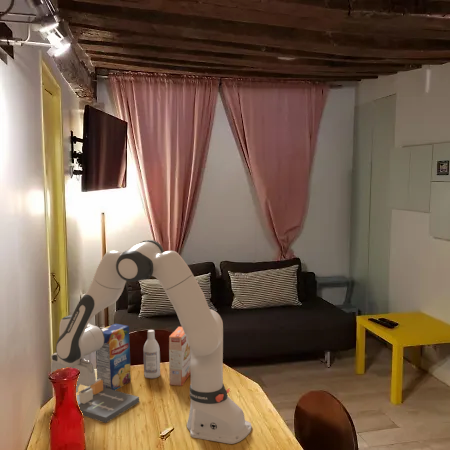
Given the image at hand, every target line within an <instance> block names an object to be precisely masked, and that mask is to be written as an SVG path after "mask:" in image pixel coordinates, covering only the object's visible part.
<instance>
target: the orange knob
mask: <svg viewBox="0 0 450 450" xmlns="http://www.w3.org/2000/svg"><path fill="white" fill-rule="evenodd" d="M89 387H91V389H93V394H97V393H99V392H101V391H103V380H101V378H99V379H97V378H96V382H95V383H94V384H93V385H91V386H89Z"/></svg>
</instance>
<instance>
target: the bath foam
mask: <svg viewBox="0 0 450 450" xmlns="http://www.w3.org/2000/svg"><path fill="white" fill-rule="evenodd" d="M155 334H156V332H155V329H148V330H147V339H146V341H145V343H144V345H143V349H142V350H143V375H144V378H146V379H156V378H158V377H160V376H161V351H160V345H159V343H158V341H157V340H156V337H155Z"/></svg>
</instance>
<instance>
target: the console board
mask: <svg viewBox="0 0 450 450" xmlns="http://www.w3.org/2000/svg"><path fill="white" fill-rule="evenodd" d="M76 396H77V401H78V405H79V407H80V410H81V411H82V413H83V415H84V416H83V415H82V416H83V417H85V418H86V417H87V418H90V419H93V420H95V421H98V422H102V423H105V424H107V423H108V422H110V421H112V420H113V419H114V418H116V417H118V416H119V415H121V414H122V413H125V412H126V411H127V410H128V409H130V408H132V407H133V406H135V405H136V404H137V405H138V403H140V397H139V396H138V395H137V396H136V395H133V394H130V393H126V392H122V391H119V390H117V389H116V390H112V389H108V388H105V387H103V391H101V392H99V393H97V394H93V399H92V400H90V401H88V402H87V403H85V404H83V403H80V401H79V394H77V395H76Z"/></svg>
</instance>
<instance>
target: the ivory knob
mask: <svg viewBox="0 0 450 450" xmlns="http://www.w3.org/2000/svg"><path fill="white" fill-rule="evenodd" d="M78 395H79V401H80V403H83V404H85V403H87V402H88V401H90V400H92V399H93V389H91V387H90V386H89V387H88V386H87V387H86V388H83V389H81V390H80V391H78Z"/></svg>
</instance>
